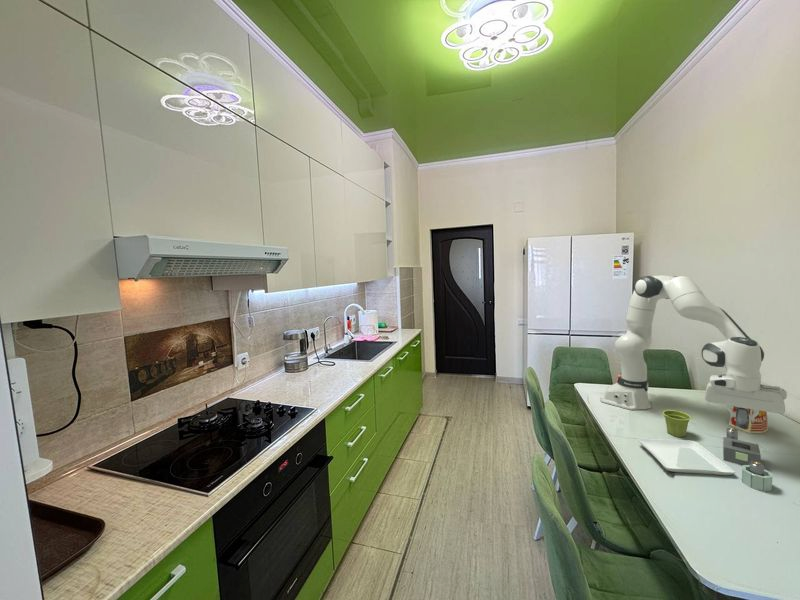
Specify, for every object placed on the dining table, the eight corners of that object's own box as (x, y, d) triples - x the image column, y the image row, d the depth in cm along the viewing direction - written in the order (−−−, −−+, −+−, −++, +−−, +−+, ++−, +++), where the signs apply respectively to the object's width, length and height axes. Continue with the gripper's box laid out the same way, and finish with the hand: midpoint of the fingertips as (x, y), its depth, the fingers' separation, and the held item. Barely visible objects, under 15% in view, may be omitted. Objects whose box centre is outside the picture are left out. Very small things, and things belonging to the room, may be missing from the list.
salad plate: (694, 447, 131) (694, 439, 131) (737, 481, 111) (737, 471, 110) (636, 445, 136) (636, 437, 136) (666, 477, 115) (666, 468, 115)
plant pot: (686, 430, 144) (686, 411, 143) (694, 440, 135) (694, 421, 135) (659, 427, 148) (659, 409, 147) (666, 437, 139) (666, 418, 139)
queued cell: (726, 446, 130) (726, 428, 129) (726, 443, 132) (726, 425, 131) (737, 449, 128) (738, 431, 127) (737, 446, 130) (737, 428, 129)
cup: (742, 487, 107) (742, 472, 107) (741, 477, 112) (741, 462, 111) (772, 496, 102) (773, 480, 102) (770, 485, 107) (770, 470, 107)
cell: (735, 423, 121) (735, 404, 121) (748, 426, 119) (748, 406, 119) (736, 427, 119) (736, 407, 119) (748, 429, 117) (749, 409, 116)
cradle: (723, 462, 120) (723, 447, 120) (723, 451, 127) (723, 436, 127) (760, 472, 114) (760, 456, 113) (757, 459, 121) (758, 444, 120)
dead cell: (749, 484, 107) (750, 463, 106) (748, 479, 109) (749, 458, 109) (764, 488, 105) (764, 466, 104) (763, 483, 107) (763, 462, 106)
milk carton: (728, 424, 146) (729, 381, 144) (747, 422, 147) (748, 379, 145) (752, 434, 137) (753, 389, 135) (771, 432, 138) (773, 387, 136)
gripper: (785, 385, 113) (784, 423, 114) (705, 375, 127) (704, 408, 128) (788, 390, 108) (787, 430, 110) (704, 379, 123) (704, 414, 124)
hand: (742, 418), depth 119 cm, fingers closed on cell, 3 cm apart
